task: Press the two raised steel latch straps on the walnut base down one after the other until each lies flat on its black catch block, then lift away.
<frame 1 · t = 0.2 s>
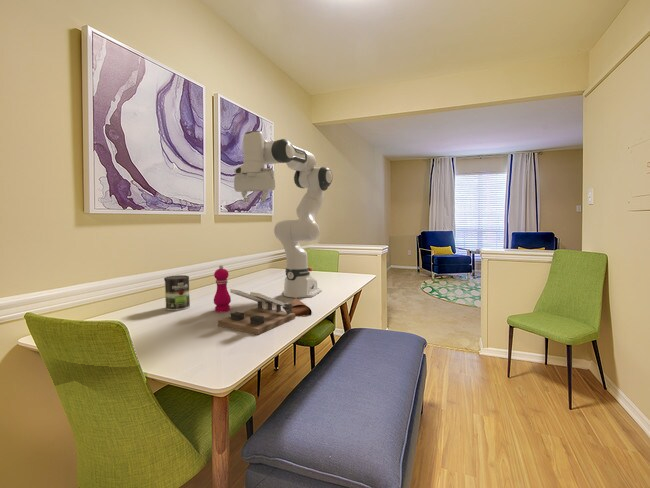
hand: (254, 201, 148), 47 cm above the table, tool pointing down, fingers open, 8 cm apart
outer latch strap: (269, 300, 132), point 9 cm above the table, hinge at 25.0°
sunglasses case: (296, 312, 149), on the table
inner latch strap: (250, 297, 137), point 9 cm above the table, hinge at 25.0°
pepper mill: (222, 310, 151), on the table
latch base: (258, 321, 134), on the table
coffee can: (178, 308, 155), on the table
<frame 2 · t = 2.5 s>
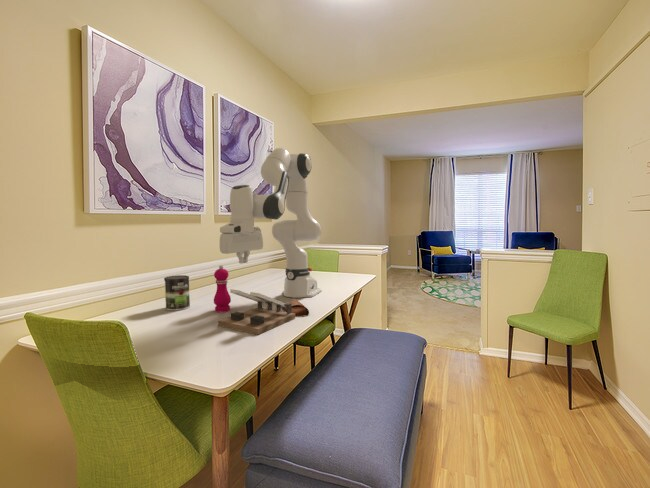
hand: (243, 263, 133), 23 cm above the table, tool pointing down, fingers closed
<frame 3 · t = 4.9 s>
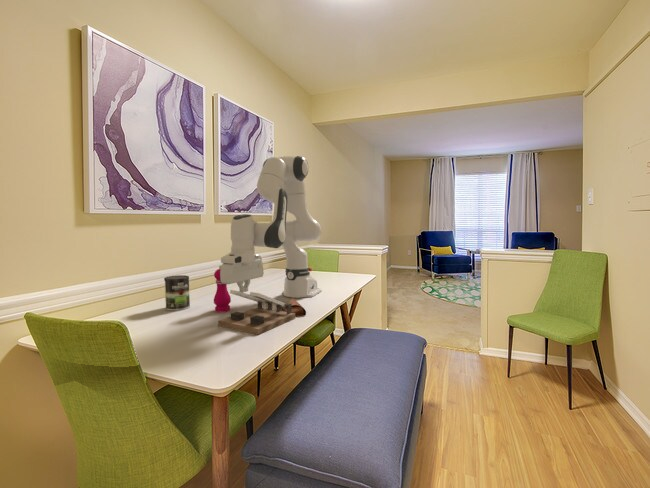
hand: (243, 291, 133), 12 cm above the table, tool pointing down, fingers closed
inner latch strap: (250, 297, 137), point 9 cm above the table, hinge at 24.1°, touching gripper
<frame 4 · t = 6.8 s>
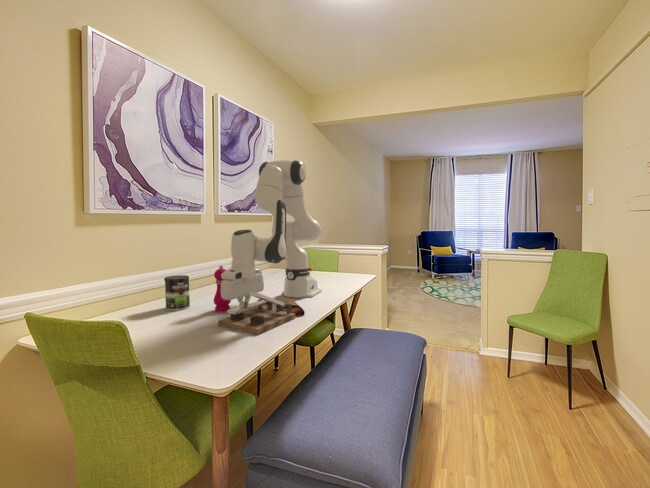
hand: (244, 306, 134), 6 cm above the table, tool pointing down, fingers closed, pressing on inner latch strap
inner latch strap: (249, 306, 136), point 5 cm above the table, hinge at 1.2°, touching gripper
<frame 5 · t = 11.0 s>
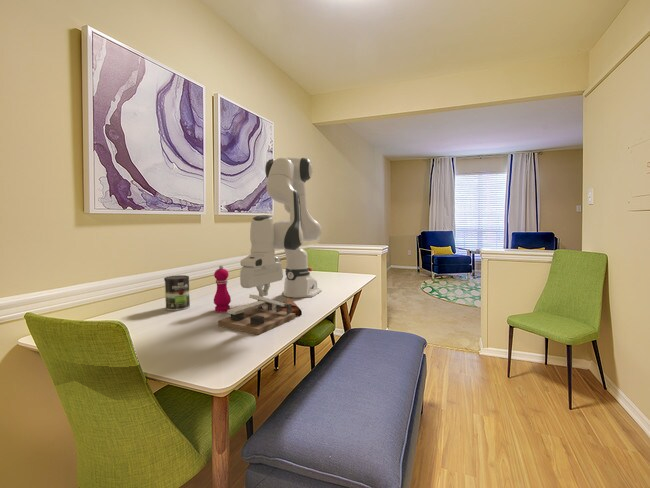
hand: (263, 295, 128), 11 cm above the table, tool pointing down, fingers closed
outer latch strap: (269, 301, 131), point 9 cm above the table, hinge at 22.3°, touching gripper
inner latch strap: (249, 306, 136), point 5 cm above the table, hinge at 1.0°
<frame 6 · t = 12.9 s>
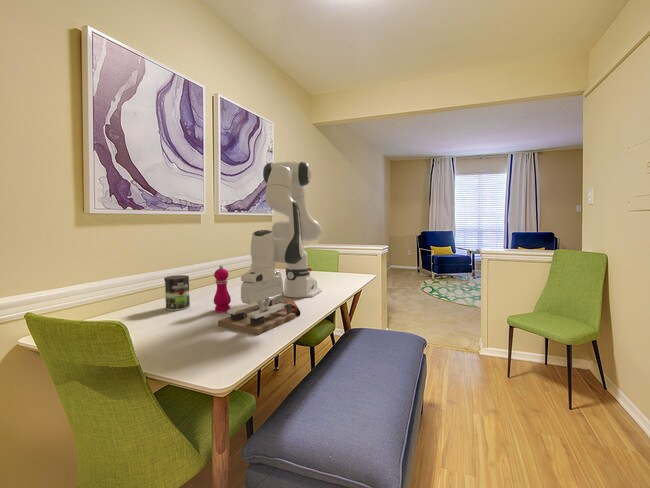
hand: (263, 310, 129), 6 cm above the table, tool pointing down, fingers closed, pressing on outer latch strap
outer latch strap: (268, 310, 131), point 5 cm above the table, hinge at 1.1°, touching gripper
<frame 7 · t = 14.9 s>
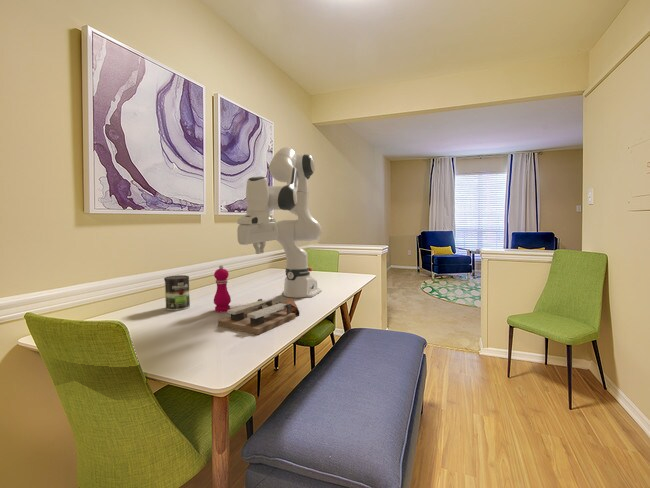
hand: (259, 253, 136), 26 cm above the table, tool pointing down, fingers closed
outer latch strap: (268, 310, 131), point 5 cm above the table, hinge at 1.0°
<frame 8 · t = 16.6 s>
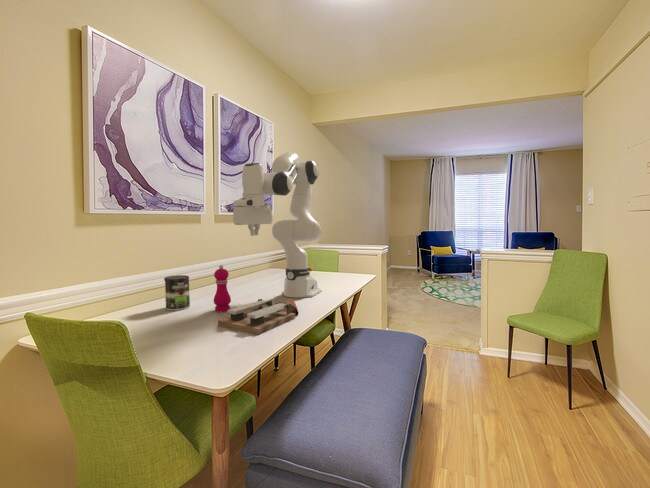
hand: (254, 235, 143), 33 cm above the table, tool pointing down, fingers closed
at the end: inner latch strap at +1° (first picture: +25°); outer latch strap at +1° (first picture: +25°) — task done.
